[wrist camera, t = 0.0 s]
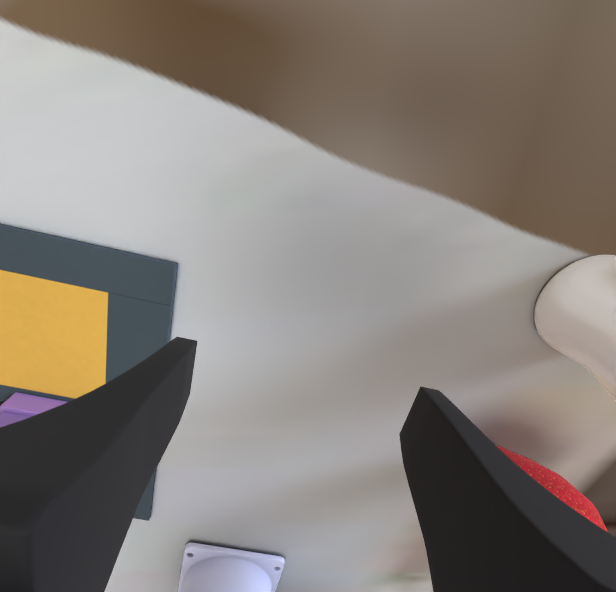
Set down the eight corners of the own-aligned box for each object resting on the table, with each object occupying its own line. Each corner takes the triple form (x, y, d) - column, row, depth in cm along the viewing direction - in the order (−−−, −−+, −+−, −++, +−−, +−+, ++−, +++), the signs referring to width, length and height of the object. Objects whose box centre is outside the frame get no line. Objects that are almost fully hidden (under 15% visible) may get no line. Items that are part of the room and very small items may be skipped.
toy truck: (89, 475, 27) (61, 520, 24) (12, 462, 27) (-27, 507, 24) (90, 405, 25) (58, 445, 22) (5, 389, 24) (-40, 428, 21)
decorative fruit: (519, 491, 28) (621, 669, 19) (423, 468, 27) (481, 644, 18) (565, 431, 26) (705, 601, 17) (461, 404, 25) (549, 568, 16)
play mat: (150, 515, 30) (148, 520, 29) (-43, 484, 28) (-48, 489, 28) (178, 263, 21) (175, 265, 21) (-96, 202, 20) (-103, 203, 20)
